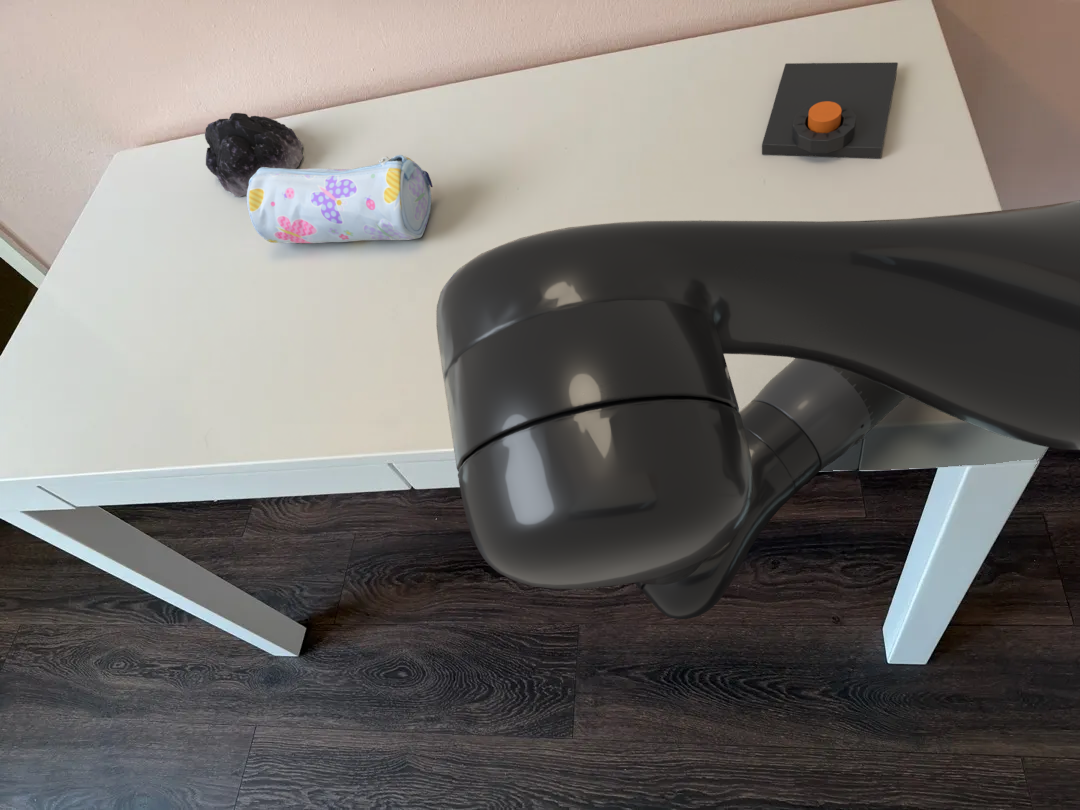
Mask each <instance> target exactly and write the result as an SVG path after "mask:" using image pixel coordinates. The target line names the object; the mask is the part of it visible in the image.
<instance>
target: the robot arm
mask: <svg viewBox="0 0 1080 810" xmlns="http://www.w3.org/2000/svg"><path fill="white" fill-rule="evenodd" d="M435 311H436V313H435V315H436V316H435V317H436V320H435V321H436V324H435V325H436V334H437V342H438V343H437V344H438V350H439V357H440V358H439V359H440V365H441V371H442V372H441V373H442V379H443V384H444V385H443V386H444V392H445V393H444V394H445V399H446V406H447V412H448V419H449V426H450V432H451V433H450V434H451V439H452V446H453V453H454V459H455V467H456V470H457V478H458V485H459V490H460V496H461V501H462V506H463V510H464V514H465V518H466V522H467V525H468V529H469V532H470V534H471V535H470V536H471V537H472V540H473V542H474V544H475V546H476V548H477V550H478V552H479V554H480V555H481V556H482V559H484V561H485V562H486V563H487V565H488V566H490V567H491V568H492V569H493V570H494V571H496V572H497V573H498V574H500V575H502V576H504V577H506V578H507V579H510V580H513V581H515V582H517V583H520V584H523V585H527V586H530V587H536V588H542V589H543V588H544V589H552V590H585V589H594V588H605V587H612V586H620V585H628V584H632V583H634V585H635V586H636V587H637V588H638V589H639V590H640V591H641V592H642V593H643V595H644V596H645V597H646V599H648V600H649V602H650V603H651V604H653V606H654V607H655V608H656V609H657V611H659V612H660V613H661V614H662V615H664V616H666V617H667V618H670V619H674V620H688V619H689V620H690V619H694V618H697V617H700V616H702V615H704V614H706V613H707V612H708V611H710V610H711V609H713V608H714V607H715V606H716V605H717V604H718V603H719V602H720V600H721V599H722V597H723V596H724V595H725V594H726V592H727V591H728V589H729V587H730V586H731V584H732V582H733V580H734V578H735V577H736V575H737V573H738V572H739V570H740V568H741V566H742V564H743V563H744V560H745V559H746V557H747V556H748V553H749V552H750V550H751V548H752V547H753V545H754V544H755V542H756V540H757V539H758V537H759V536H760V534H761V532H762V531H763V530H764V528H765V527H766V526H767V525H768V523H769V522H770V521H771V520H772V519H773V517H774V516H775V515H776V514H777V513H778V511H779V510H780V509H781V508H782V507H783V506H784V505H785V504H786V503H787V502H788V501H790V499H791V498H792V497H793V496H795V494H797V493H798V492H799V491H800V490H801V489H802V488H803V487H804V486H805V485H807V484H808V483H809V482H810V481H811V480H812V479H813V478H814V477H815V476H816V475H817V474H818V473H820V472H821V471H822V470H823V469H824V468H826V467H827V466H829V465H830V464H832V463H833V462H835V461H837V460H838V459H839V458H840V457H842V456H843V455H845V453H846V452H848V451H849V450H850V449H851V448H852V447H854V446H855V445H858V444H859V443H860V442H861V441H862V440H863V439H864V438H865V436H866V434H868V432H870V430H872V429H873V428H874V427H875V426H876V425H877V424H879V422H880V421H881V420H883V419H884V418H885V417H886V416H887V415H888V414H890V412H892V410H893V409H895V408H896V406H898V405H899V404H900V403H901V402H902V401H904V400H905V398H907V397H908V398H910V399H912V400H915V401H916V402H919V403H921V404H923V405H926V406H928V407H930V408H932V409H935V410H937V411H939V412H942V413H943V414H947V415H949V416H951V417H953V418H956V419H958V420H961V421H964V422H966V423H968V424H971V425H974V426H976V427H978V428H981V429H983V430H985V431H988V432H991V433H994V434H997V435H999V436H1002V437H1004V438H1008V439H1011V440H1015V441H1019V442H1021V443H1026V444H1030V445H1031V444H1032V445H1035V446H1040V447H1045V448H1051V449H1057V450H1073V451H1075V450H1076V451H1077V450H1079V451H1080V199H1077V200H1072V201H1071V200H1070V201H1065V202H1059V203H1058V202H1057V203H1052V204H1045V205H1038V206H1029V207H1020V208H1011V209H1003V210H994V211H993V210H992V211H983V212H971V213H962V214H950V215H949V214H947V215H935V216H924V217H915V218H913V217H912V218H897V219H894V218H893V219H873V220H872V219H871V220H870V219H869V220H838V221H837V220H835V221H833V220H832V221H831V220H830V221H829V220H828V221H812V220H811V221H809V220H808V221H807V220H805V221H804V220H803V221H801V220H799V221H797V220H795V221H794V220H791V221H790V220H640V221H621V222H618V221H617V222H607V223H596V224H585V225H577V226H569V227H563V228H558V229H553V230H548V231H544V232H539V233H535V234H532V235H528V236H522V237H519V238H516V239H515V240H511V241H508V242H506V243H503V244H500V245H498V246H496V247H494V248H491V249H489V250H486V251H485V252H484V251H483V252H482V253H480V254H478V255H477V256H475V257H474V258H472V259H470V260H469V261H468V262H466V263H465V264H464V265H462V266H461V267H459V268H458V269H457V270H456V271H455V272H453V274H452V275H451V276H450V278H449V279H448V280H447V281H446V283H445V284H444V285H443V287H442V289H441V291H440V293H439V296H438V300H437V303H436V310H435ZM725 355H742V356H743V355H747V356H768V357H781V358H782V357H783V358H792V359H793V360H792V361H790V362H789V363H788V365H786V366H785V367H784V368H783V369H781V370H780V371H778V372H777V374H776V375H774V376H773V377H772V378H771V379H770V380H769V381H768V382H767V383H766V384H765V385H764V386H763V388H762V389H761V390H760V391H759V393H757V395H756V396H755V397H754V398H753V399H752V400H751V401H750V402H749V403H748V404H747V405H745V406H744V407H743V408H742V409H741V410H740V407H739V404H738V400H737V396H736V393H735V390H734V389H735V388H734V386H733V383H732V379H731V376H730V375H731V374H730V371H729V369H728V365H727V362H726V358H725Z"/></svg>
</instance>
